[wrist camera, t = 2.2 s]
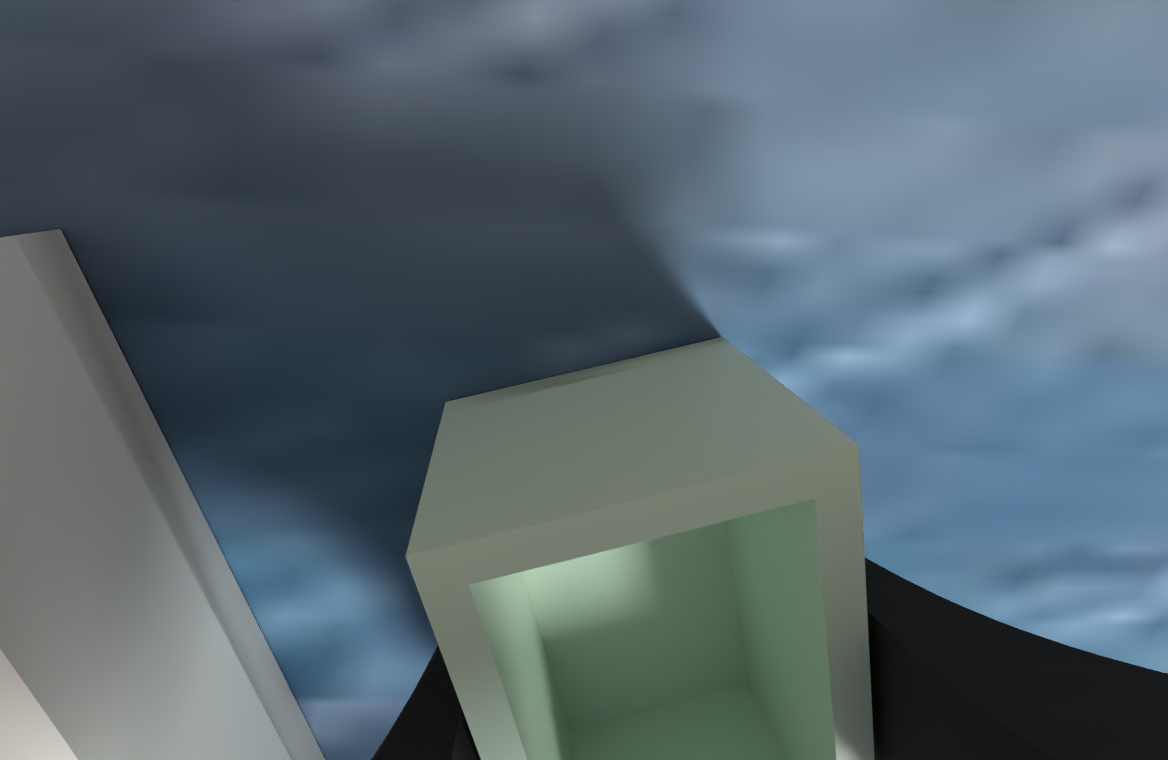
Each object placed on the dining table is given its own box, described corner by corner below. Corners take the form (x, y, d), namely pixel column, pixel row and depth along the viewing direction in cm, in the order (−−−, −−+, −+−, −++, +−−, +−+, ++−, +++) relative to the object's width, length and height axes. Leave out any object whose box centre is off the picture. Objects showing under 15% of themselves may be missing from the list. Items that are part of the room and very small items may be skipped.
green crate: (765, 675, 15) (882, 901, 11) (547, 732, 15) (566, 989, 10) (722, 337, 12) (858, 445, 7) (445, 402, 12) (405, 555, 7)
